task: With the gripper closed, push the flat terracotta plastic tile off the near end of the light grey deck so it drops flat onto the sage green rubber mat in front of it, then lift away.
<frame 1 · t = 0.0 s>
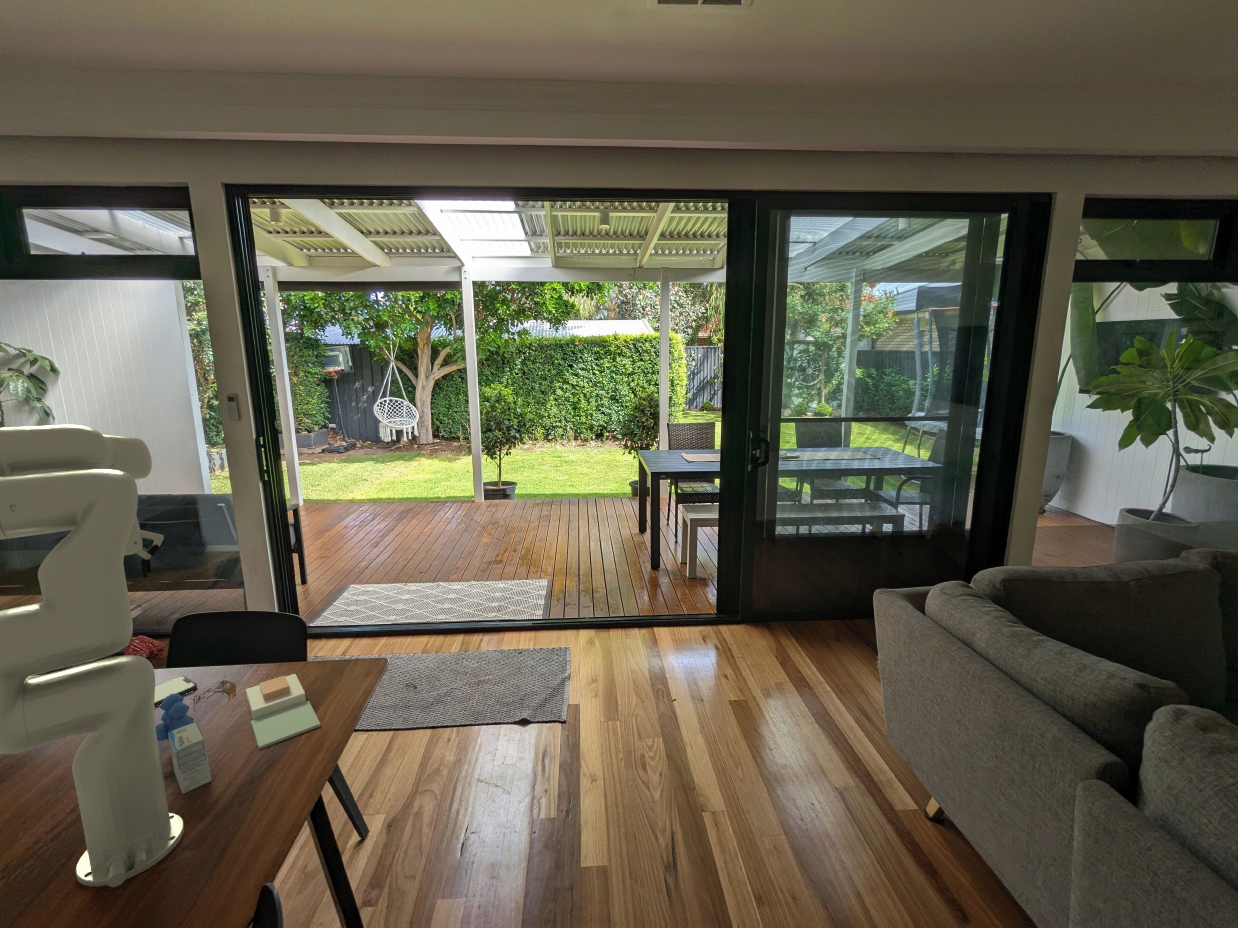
hand: (115, 581, 114), 31 cm above the table, tool pointing down, fingers open, 9 cm apart
grapes: (177, 755, 107), on the table
smartphone: (150, 703, 125), on the table
tile: (275, 690, 124), point 2 cm above the table, touching deck
deck: (276, 700, 124), on the table
medicine box: (192, 778, 100), on the table
mat: (285, 724, 115), on the table
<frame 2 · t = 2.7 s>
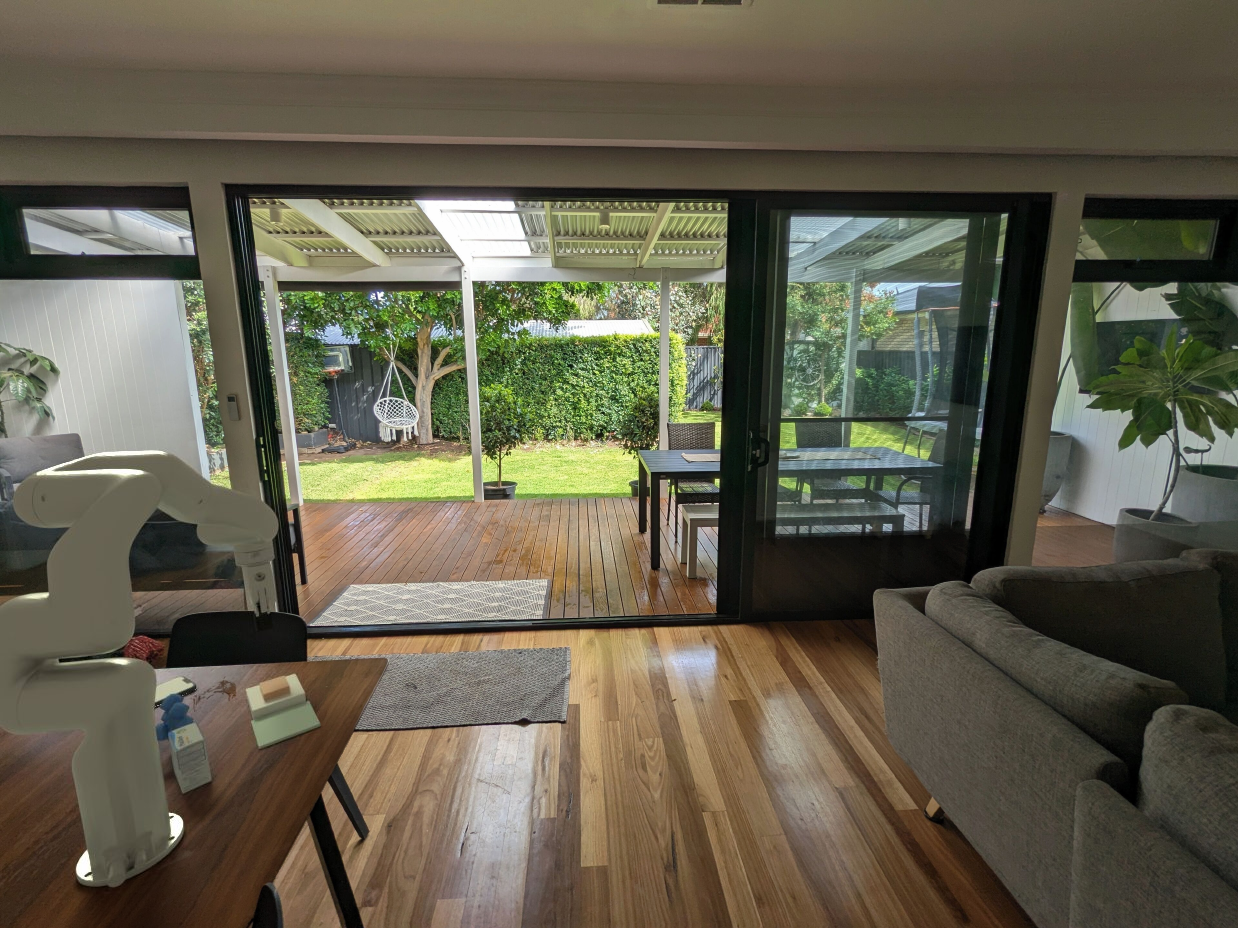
hand: (264, 628, 128), 15 cm above the table, tool pointing down, fingers closed
nothing on the table moved.
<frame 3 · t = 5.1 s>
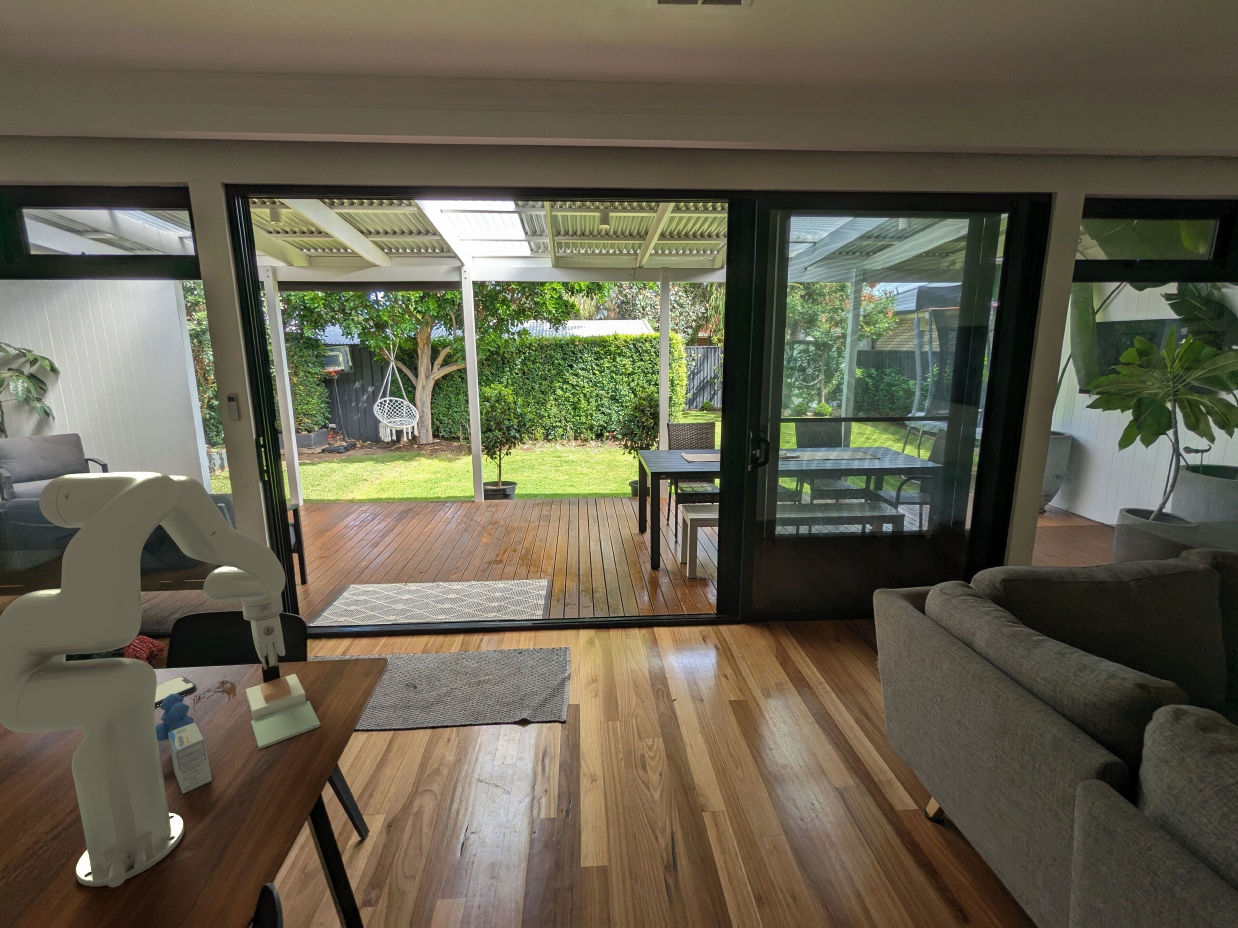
hand: (272, 681, 127), 3 cm above the table, tool pointing down, fingers closed
tile: (275, 692, 123), point 3 cm above the table, touching gripper
everything else where it was.
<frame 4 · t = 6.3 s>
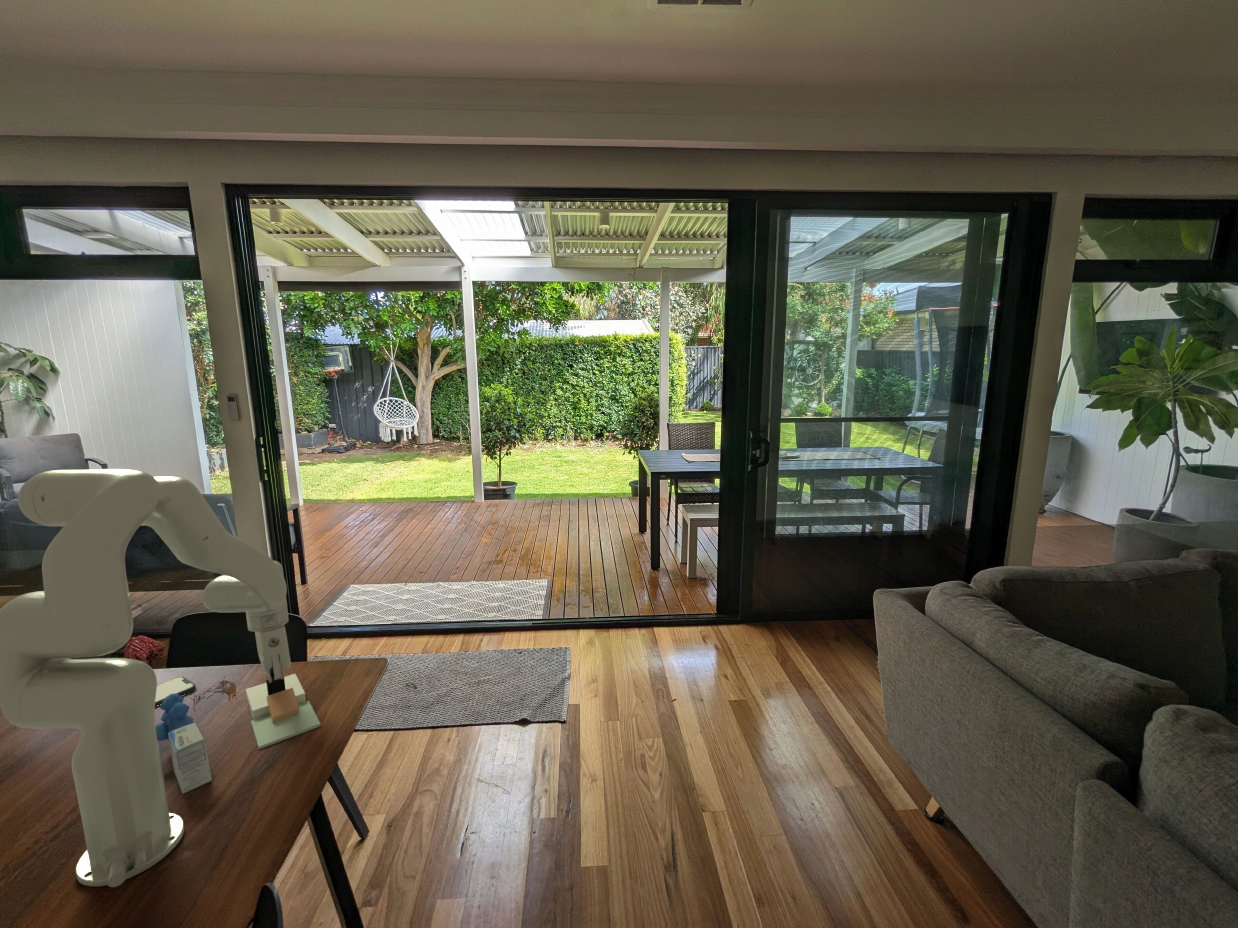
hand: (277, 694, 121), 3 cm above the table, tool pointing down, fingers closed
tile: (282, 706, 119), point 2 cm above the table, tilted 23°, touching deck, gripper
everything else where it was.
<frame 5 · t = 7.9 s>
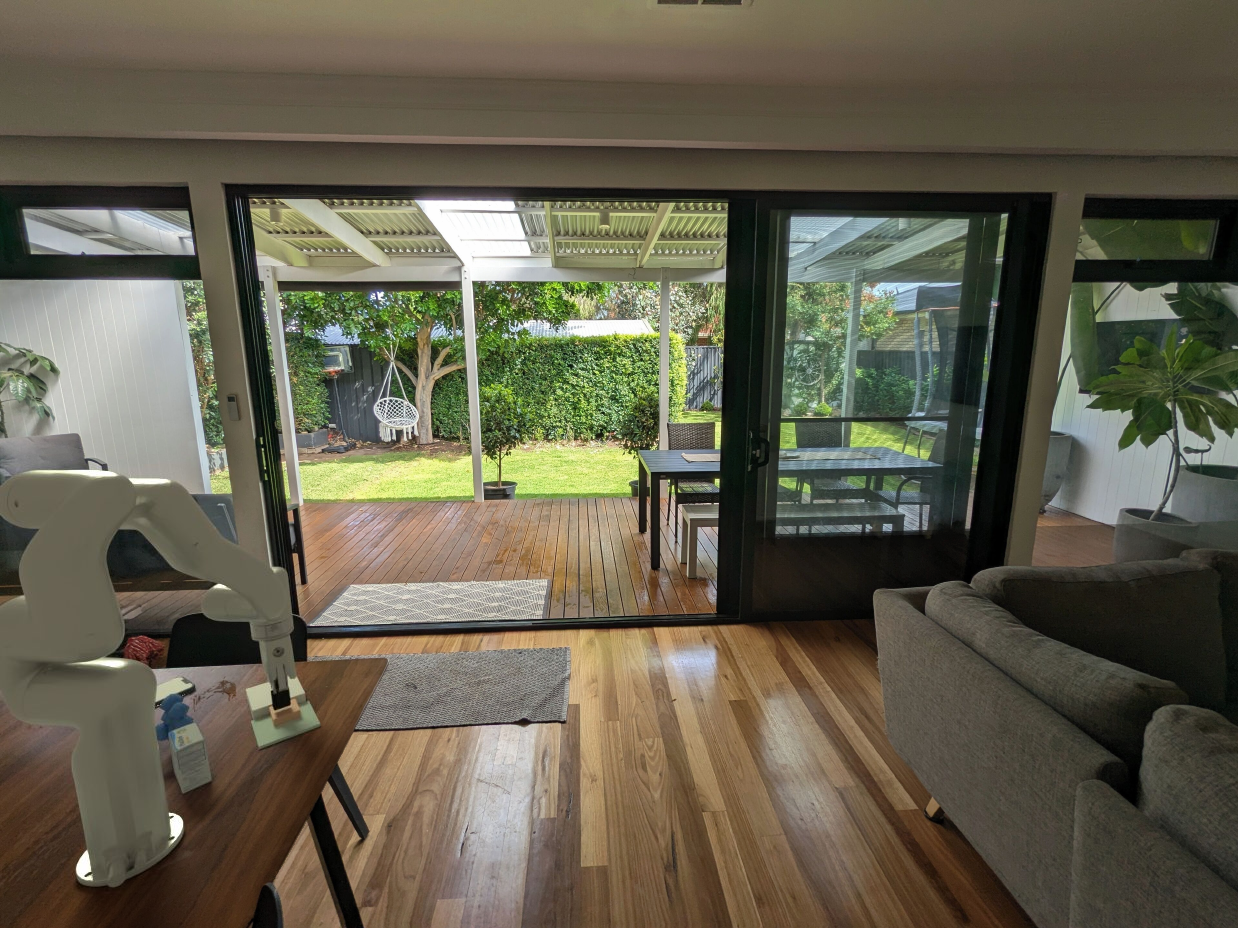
hand: (281, 706, 117), 3 cm above the table, tool pointing down, fingers closed
tile: (285, 714, 118), point 1 cm above the table, touching mat
everything else where it was.
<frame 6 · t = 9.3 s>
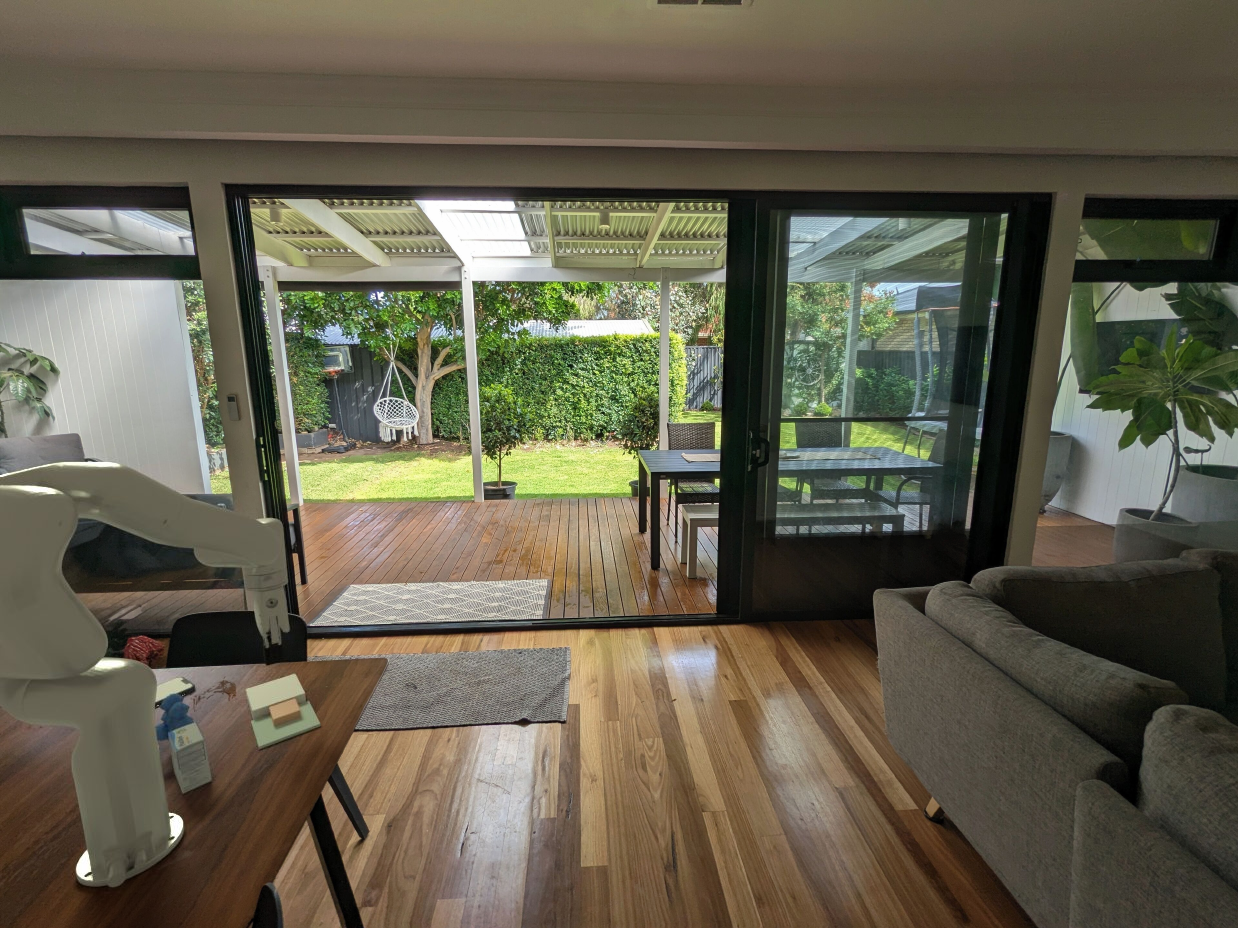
hand: (274, 661, 115), 14 cm above the table, tool pointing down, fingers closed
nothing on the table moved.
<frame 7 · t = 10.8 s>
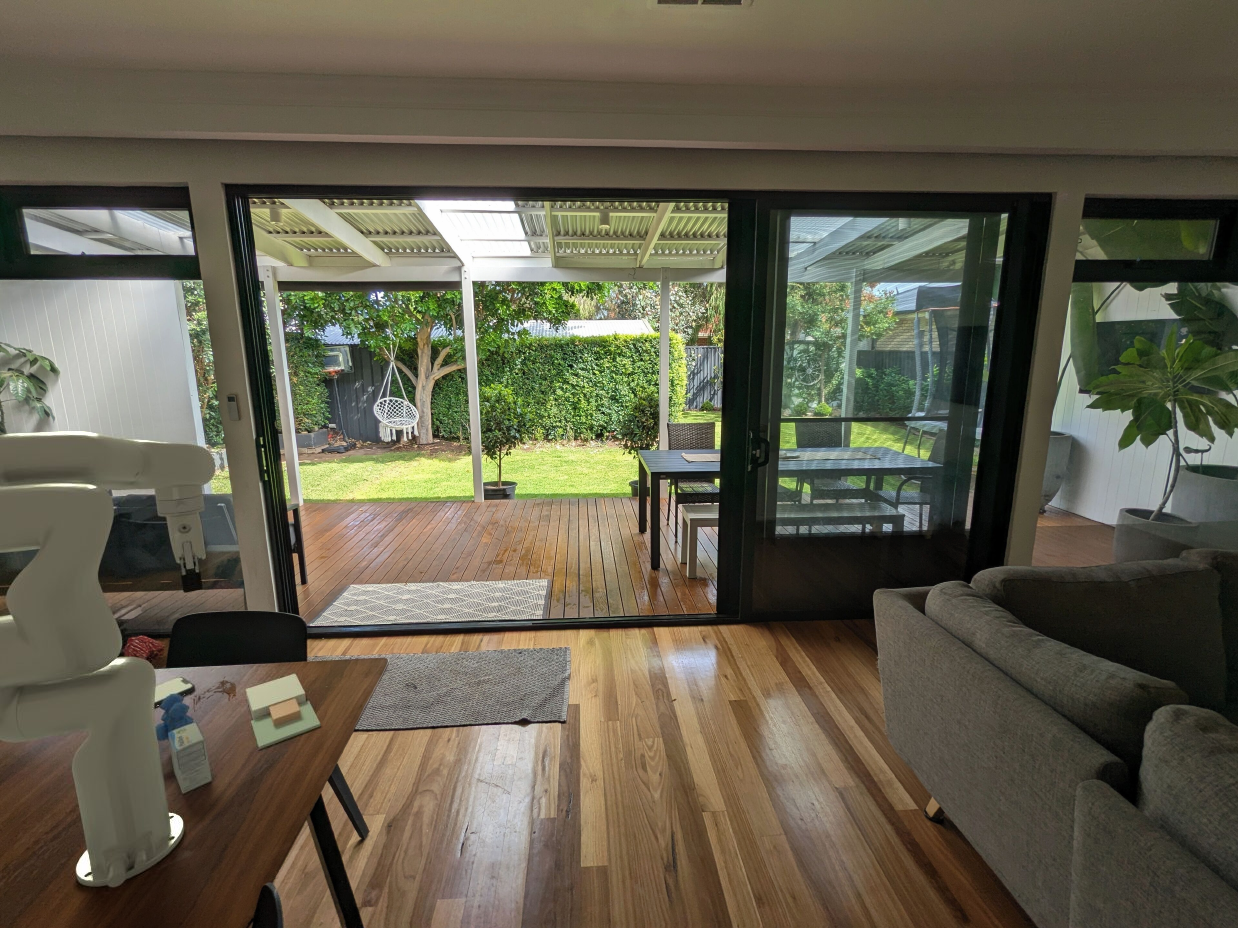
hand: (193, 589, 114), 29 cm above the table, tool pointing down, fingers closed
nothing on the table moved.
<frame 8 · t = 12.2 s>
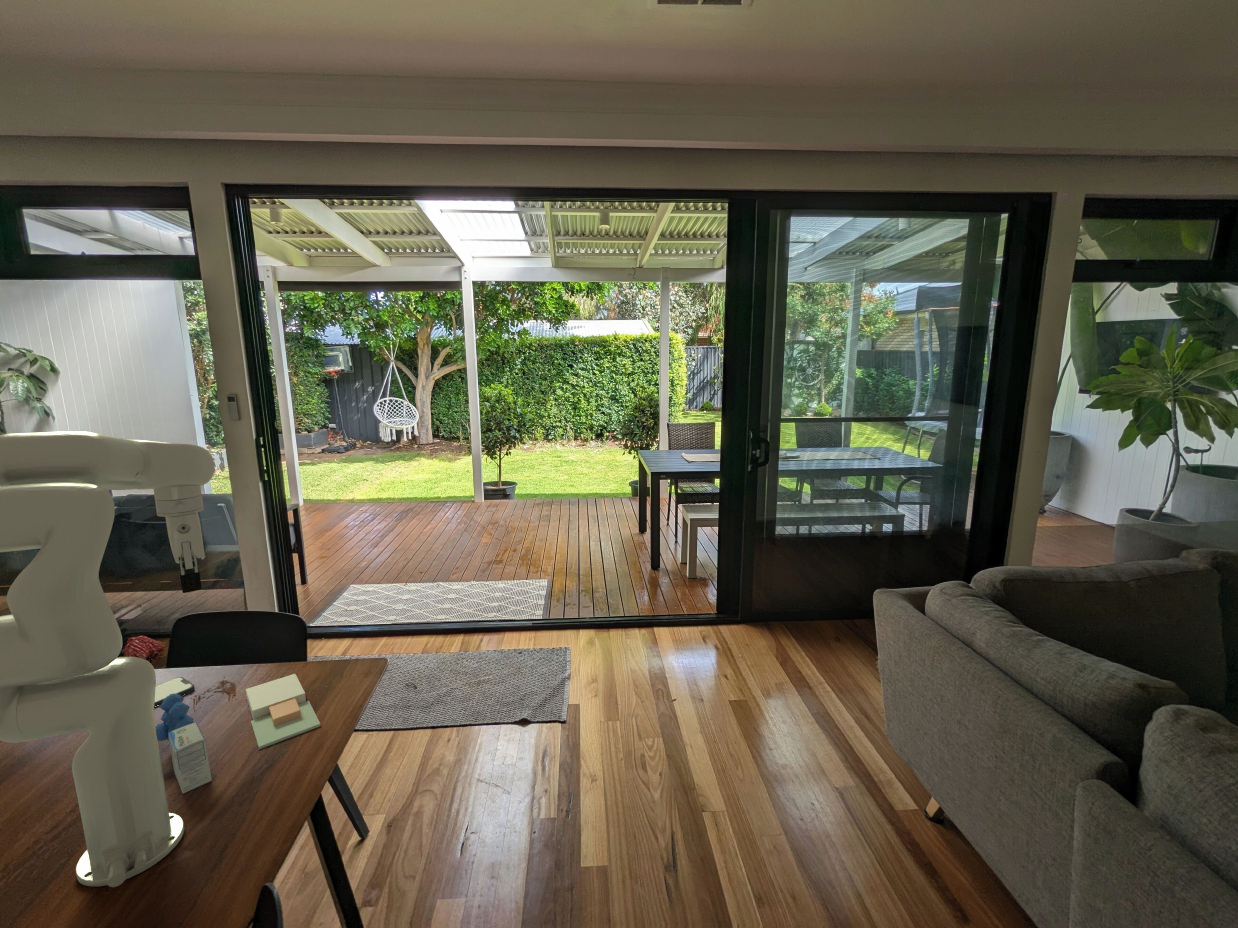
hand: (192, 590, 114), 29 cm above the table, tool pointing down, fingers closed
nothing on the table moved.
at the end: tile inside the target area (2.9 cm from its centre), point 0.6 cm above the table; tile tilted 0°; tile touching mat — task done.
